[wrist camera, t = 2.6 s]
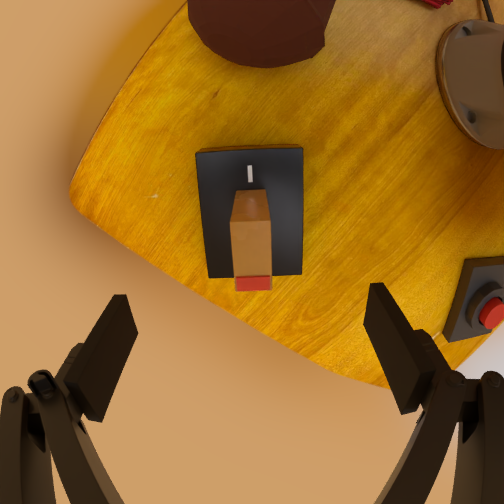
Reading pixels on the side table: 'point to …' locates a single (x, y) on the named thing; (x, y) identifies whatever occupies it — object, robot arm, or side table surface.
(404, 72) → the side table surface
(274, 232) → the lock plate
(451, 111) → the robot arm
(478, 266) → the box
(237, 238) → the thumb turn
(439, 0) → the dish towel
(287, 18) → the muffin
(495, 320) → the release button
